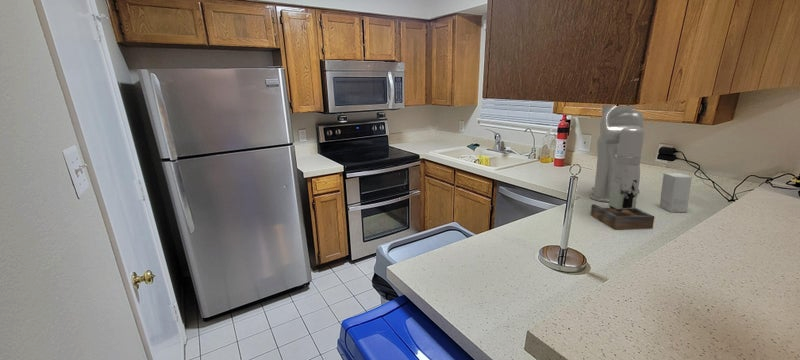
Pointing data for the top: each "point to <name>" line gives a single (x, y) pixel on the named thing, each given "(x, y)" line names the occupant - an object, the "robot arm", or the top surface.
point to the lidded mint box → (619, 198)
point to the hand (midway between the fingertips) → (622, 204)
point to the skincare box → (675, 192)
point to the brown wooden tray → (623, 218)
